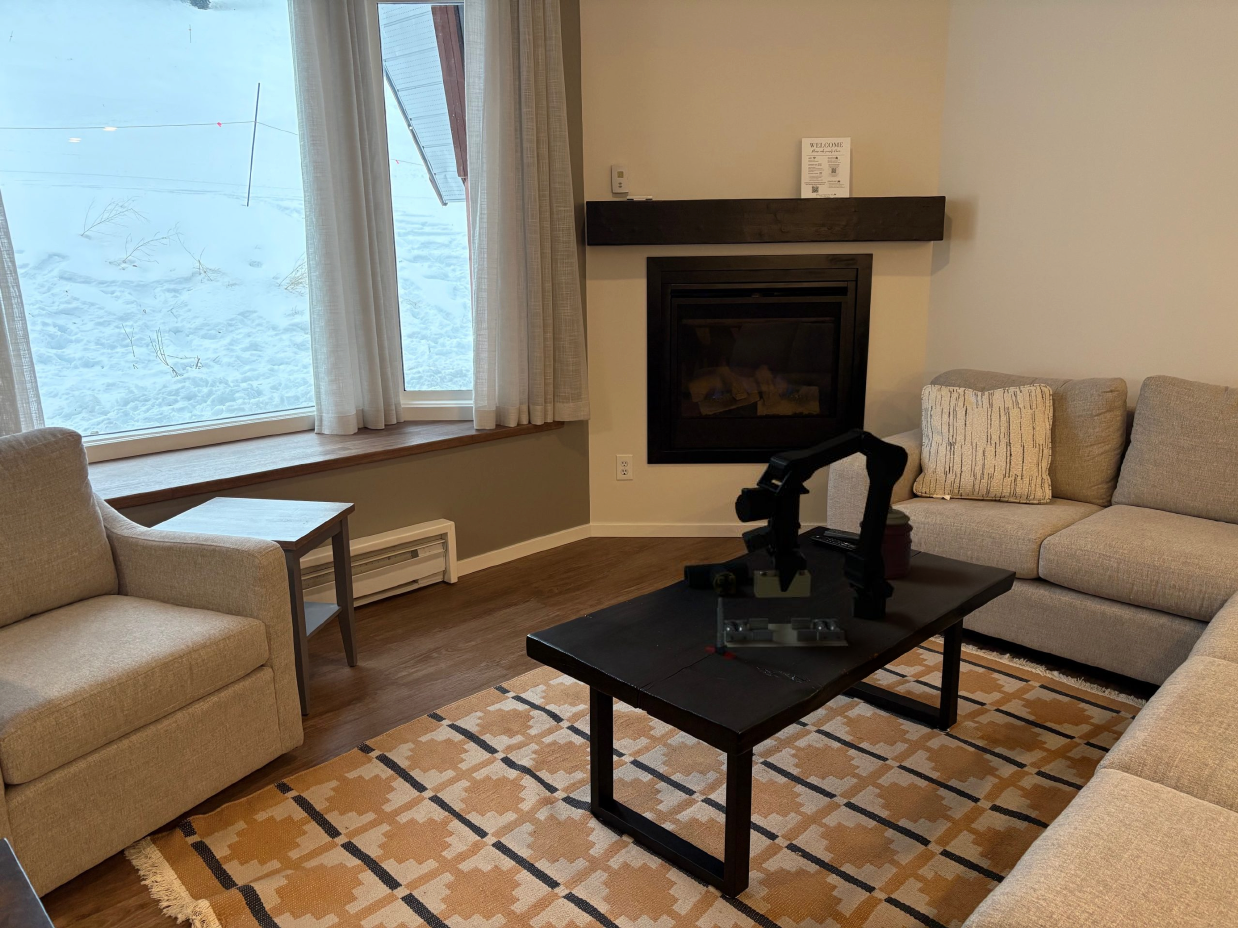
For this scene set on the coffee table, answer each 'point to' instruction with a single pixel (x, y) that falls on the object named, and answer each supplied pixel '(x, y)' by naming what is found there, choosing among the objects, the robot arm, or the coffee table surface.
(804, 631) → the chain end
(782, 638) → the board
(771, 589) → the tapered knobbed panel
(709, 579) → the pipe connector
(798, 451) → the robot arm
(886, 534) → the canister
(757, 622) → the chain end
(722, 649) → the gray post stand
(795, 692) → the coffee table surface
